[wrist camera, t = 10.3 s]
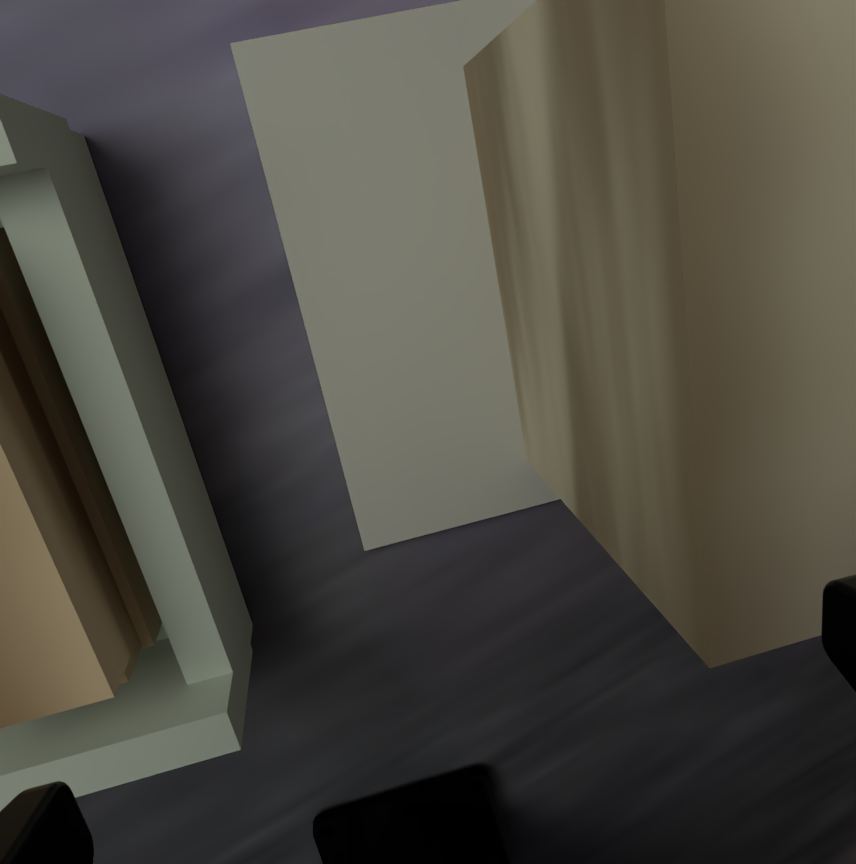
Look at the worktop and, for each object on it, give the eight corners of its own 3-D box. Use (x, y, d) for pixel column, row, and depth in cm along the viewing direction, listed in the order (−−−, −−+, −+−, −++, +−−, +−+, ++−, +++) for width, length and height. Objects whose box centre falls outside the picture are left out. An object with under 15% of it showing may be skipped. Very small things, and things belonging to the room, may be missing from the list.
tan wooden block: (575, 44, 17) (895, -152, 8) (618, 437, 21) (870, 620, 12) (463, 66, 17) (657, -109, 8) (527, 460, 21) (709, 668, 11)
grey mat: (761, -52, 18) (771, -58, 17) (772, 437, 22) (780, 440, 22) (232, 47, 16) (230, 43, 16) (363, 544, 21) (364, 550, 21)
